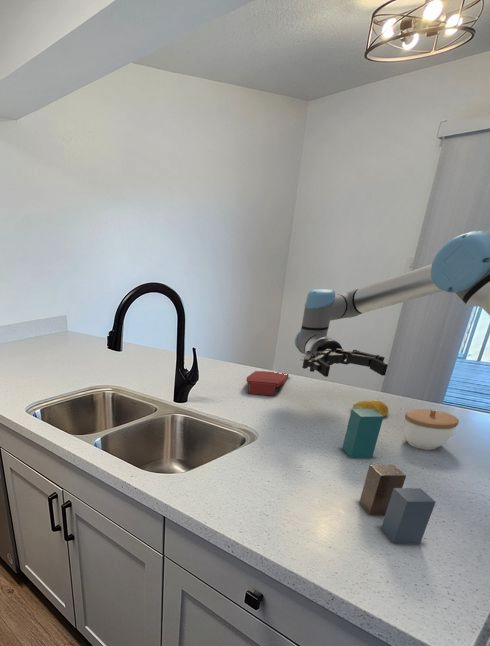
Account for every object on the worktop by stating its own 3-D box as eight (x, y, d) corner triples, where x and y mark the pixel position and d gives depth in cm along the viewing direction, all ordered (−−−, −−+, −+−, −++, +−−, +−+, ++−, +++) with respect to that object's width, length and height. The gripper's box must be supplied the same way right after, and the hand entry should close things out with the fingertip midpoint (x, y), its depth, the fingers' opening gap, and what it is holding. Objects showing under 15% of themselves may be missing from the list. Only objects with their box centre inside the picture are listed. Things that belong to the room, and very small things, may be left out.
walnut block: (382, 502, 89) (393, 464, 85) (393, 515, 85) (406, 475, 81) (358, 502, 90) (369, 464, 86) (369, 515, 86) (380, 475, 82)
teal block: (362, 449, 111) (373, 408, 106) (372, 458, 106) (383, 416, 101) (341, 449, 111) (351, 409, 106) (350, 458, 107) (361, 416, 102)
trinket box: (423, 456, 106) (435, 420, 101) (387, 439, 115) (397, 405, 111) (459, 450, 107) (473, 415, 103) (421, 433, 117) (432, 400, 113)
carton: (253, 383, 174) (242, 392, 153) (255, 370, 172) (244, 378, 151) (286, 386, 168) (279, 396, 147) (288, 373, 166) (281, 382, 146)
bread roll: (393, 416, 128) (396, 403, 126) (365, 419, 127) (368, 406, 125) (372, 407, 135) (375, 394, 134) (346, 410, 134) (349, 397, 133)
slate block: (406, 529, 81) (420, 488, 77) (420, 544, 77) (436, 501, 73) (380, 528, 82) (393, 487, 78) (393, 543, 78) (407, 501, 74)
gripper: (365, 362, 128) (404, 384, 109) (277, 364, 131) (301, 386, 112) (371, 336, 125) (413, 354, 106) (281, 339, 127) (306, 357, 109)
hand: (356, 370), depth 109 cm, fingers open, 13 cm apart
